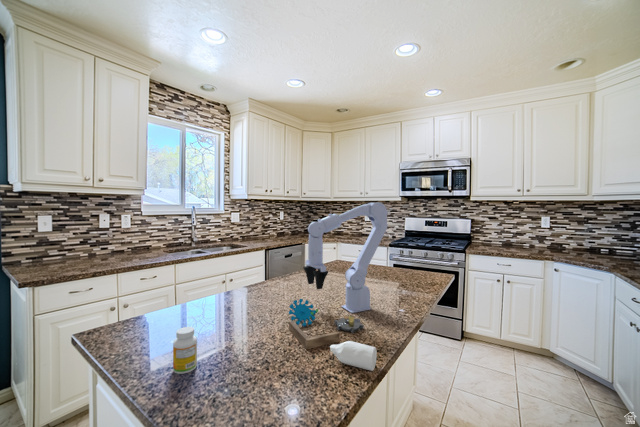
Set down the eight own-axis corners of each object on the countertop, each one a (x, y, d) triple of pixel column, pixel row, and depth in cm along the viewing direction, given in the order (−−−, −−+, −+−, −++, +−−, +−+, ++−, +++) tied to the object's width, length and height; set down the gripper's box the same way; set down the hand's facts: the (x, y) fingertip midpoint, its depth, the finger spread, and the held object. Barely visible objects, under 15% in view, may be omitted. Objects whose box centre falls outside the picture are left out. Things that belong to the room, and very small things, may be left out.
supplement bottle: (178, 362, 73) (178, 325, 72) (200, 361, 73) (200, 325, 73) (169, 375, 67) (169, 335, 67) (192, 374, 68) (192, 334, 67)
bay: (318, 323, 98) (318, 316, 98) (339, 341, 85) (339, 332, 85) (288, 329, 93) (288, 321, 93) (306, 349, 80) (306, 340, 80)
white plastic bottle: (334, 353, 78) (334, 333, 78) (376, 363, 73) (377, 342, 73) (325, 363, 73) (326, 342, 73) (371, 375, 68) (371, 353, 68)
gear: (291, 325, 93) (288, 297, 99) (286, 332, 96) (283, 305, 103) (321, 324, 97) (317, 298, 103) (315, 331, 100) (311, 305, 107)
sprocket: (332, 321, 100) (333, 308, 100) (357, 320, 101) (357, 307, 101) (339, 333, 90) (339, 320, 90) (366, 332, 91) (366, 318, 91)
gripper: (298, 250, 115) (298, 282, 115) (314, 255, 102) (314, 292, 103) (314, 249, 118) (313, 280, 119) (331, 254, 105) (330, 290, 106)
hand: (315, 286), depth 111 cm, fingers open, 7 cm apart
